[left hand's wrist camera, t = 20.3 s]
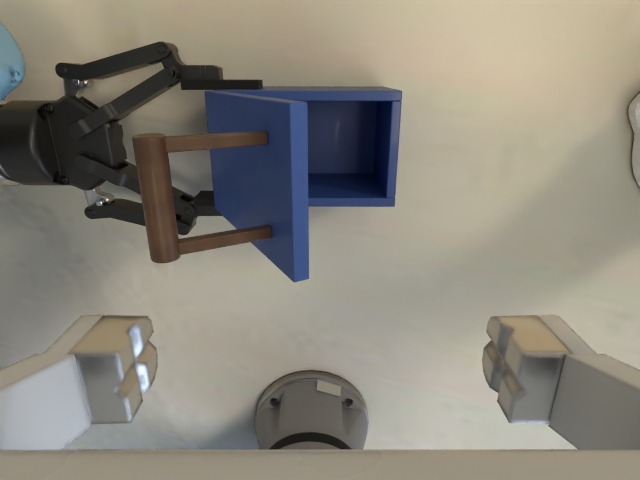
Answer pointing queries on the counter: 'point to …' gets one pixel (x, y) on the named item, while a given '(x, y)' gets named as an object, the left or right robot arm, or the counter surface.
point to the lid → (237, 180)
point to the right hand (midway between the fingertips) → (263, 144)
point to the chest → (347, 142)
